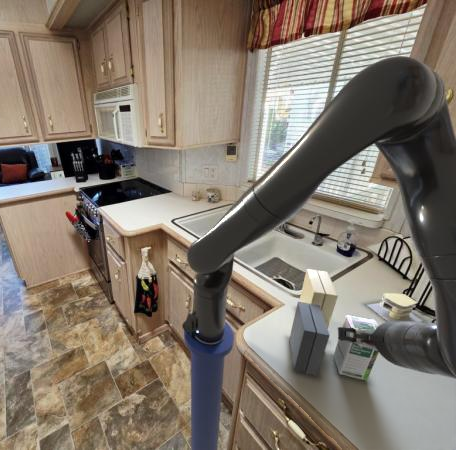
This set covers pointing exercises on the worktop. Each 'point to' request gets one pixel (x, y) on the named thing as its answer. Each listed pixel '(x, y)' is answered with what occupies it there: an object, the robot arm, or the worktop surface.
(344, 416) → the worktop surface
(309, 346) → the grey books
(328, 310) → the cream cookbooks
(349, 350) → the syrup box
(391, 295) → the stacked layers on plate
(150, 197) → the worktop surface
